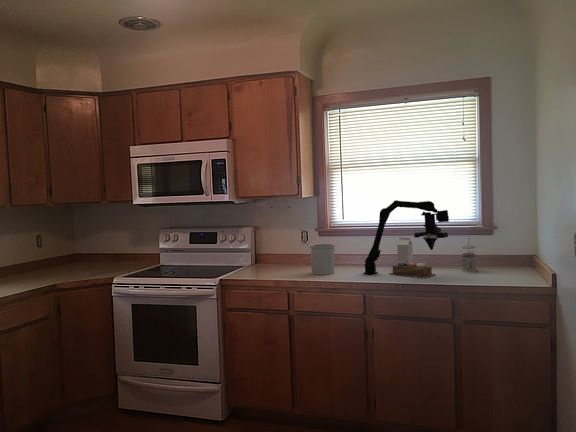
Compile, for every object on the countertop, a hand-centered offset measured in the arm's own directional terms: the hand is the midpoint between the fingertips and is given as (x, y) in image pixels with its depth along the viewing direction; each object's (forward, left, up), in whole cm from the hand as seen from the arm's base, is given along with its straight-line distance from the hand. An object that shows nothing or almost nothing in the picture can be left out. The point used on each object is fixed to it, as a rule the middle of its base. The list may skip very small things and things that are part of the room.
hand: (431, 249), depth 279 cm
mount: (-10, +7, -14) cm, 18 cm away
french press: (+20, -13, -14) cm, 28 cm away
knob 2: (-10, +1, -12) cm, 16 cm away
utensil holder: (-34, +54, -14) cm, 66 cm away
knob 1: (-10, +13, -12) cm, 21 cm away
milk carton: (+8, +23, -14) cm, 29 cm away
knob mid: (-10, +7, -12) cm, 17 cm away
